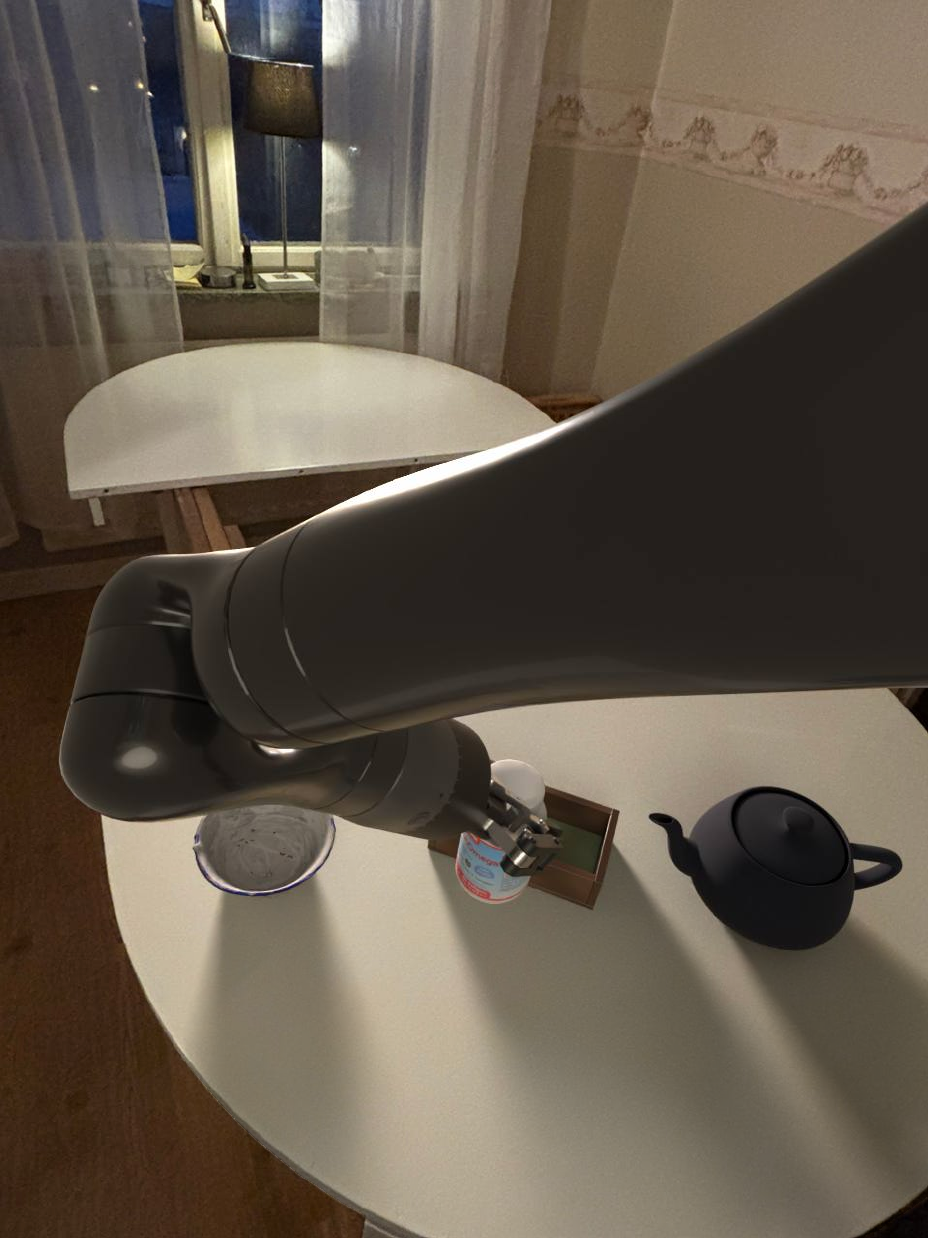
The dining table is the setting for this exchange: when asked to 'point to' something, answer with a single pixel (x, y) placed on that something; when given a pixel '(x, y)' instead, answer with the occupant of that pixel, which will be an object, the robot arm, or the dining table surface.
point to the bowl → (262, 848)
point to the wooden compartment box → (568, 848)
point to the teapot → (775, 866)
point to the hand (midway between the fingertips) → (522, 807)
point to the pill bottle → (482, 858)
